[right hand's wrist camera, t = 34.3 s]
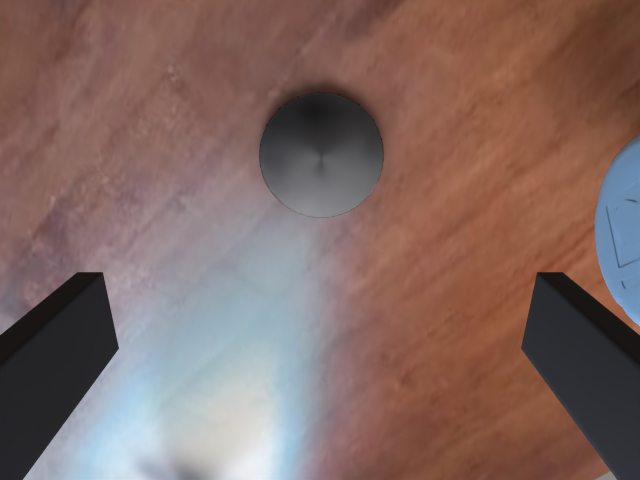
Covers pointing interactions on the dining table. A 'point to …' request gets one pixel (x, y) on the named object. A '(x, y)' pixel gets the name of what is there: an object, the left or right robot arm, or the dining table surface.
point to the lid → (321, 155)
